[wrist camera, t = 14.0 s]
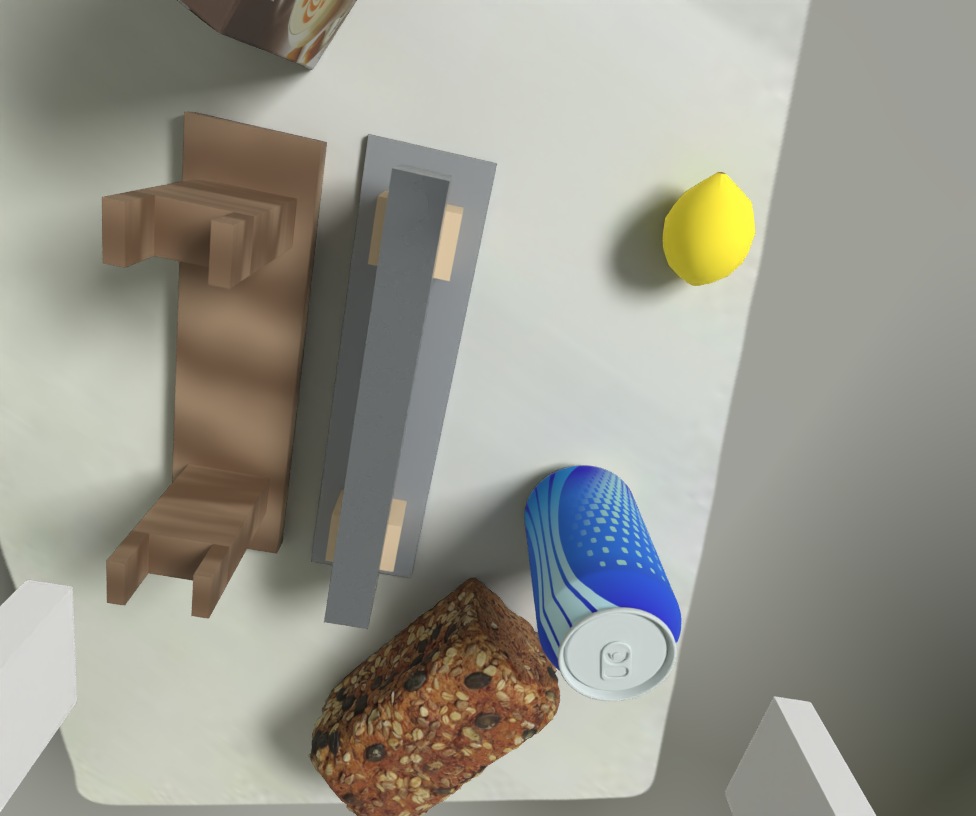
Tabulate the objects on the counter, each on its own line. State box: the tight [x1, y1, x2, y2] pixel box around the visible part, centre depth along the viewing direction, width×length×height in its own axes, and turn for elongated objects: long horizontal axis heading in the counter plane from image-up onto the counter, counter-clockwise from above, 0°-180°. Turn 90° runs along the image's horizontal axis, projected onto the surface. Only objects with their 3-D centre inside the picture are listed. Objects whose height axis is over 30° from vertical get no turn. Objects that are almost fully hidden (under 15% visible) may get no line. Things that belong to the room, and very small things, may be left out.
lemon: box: [663, 172, 755, 286], centre depth 41 cm, size 7×5×5 cm
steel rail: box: [324, 164, 452, 629], centre depth 42 cm, size 30×3×4 cm, turn 168°
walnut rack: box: [102, 112, 327, 618], centre depth 40 cm, size 30×8×13 cm, turn 168°
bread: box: [308, 578, 560, 816], centre depth 53 cm, size 19×11×10 cm, turn 132°
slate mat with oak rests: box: [311, 134, 497, 578], centre depth 45 cm, size 32×8×4 cm, turn 168°
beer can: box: [524, 465, 681, 701], centre depth 44 cm, size 8×8×16 cm
